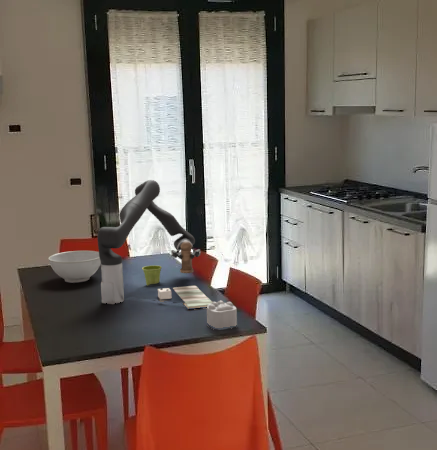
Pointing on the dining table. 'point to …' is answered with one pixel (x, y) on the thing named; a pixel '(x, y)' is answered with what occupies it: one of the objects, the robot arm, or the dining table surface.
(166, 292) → the die
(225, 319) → the lumpy-topped squat cylinder
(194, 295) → the game board
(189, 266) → the pawn
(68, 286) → the dining table surface
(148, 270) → the plant pot
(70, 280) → the decorative bowl
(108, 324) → the dining table surface
